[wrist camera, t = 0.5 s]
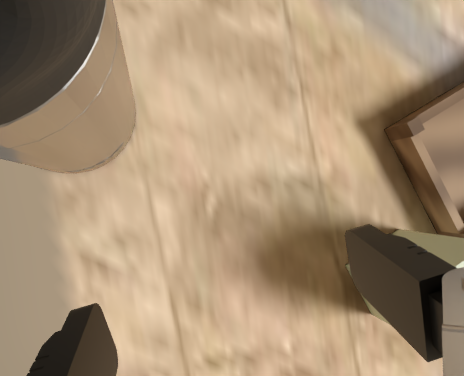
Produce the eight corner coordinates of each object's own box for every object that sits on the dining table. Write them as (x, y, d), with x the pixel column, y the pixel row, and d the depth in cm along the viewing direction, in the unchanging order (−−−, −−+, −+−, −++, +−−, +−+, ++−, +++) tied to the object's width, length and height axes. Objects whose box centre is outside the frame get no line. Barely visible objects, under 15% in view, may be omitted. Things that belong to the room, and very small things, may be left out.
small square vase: (343, 266, 31) (417, 294, 22) (399, 228, 32) (491, 240, 24) (370, 315, 32) (453, 361, 23) (424, 276, 33) (523, 305, 24)
